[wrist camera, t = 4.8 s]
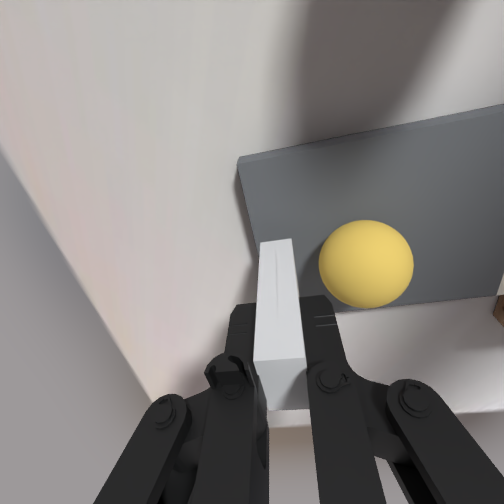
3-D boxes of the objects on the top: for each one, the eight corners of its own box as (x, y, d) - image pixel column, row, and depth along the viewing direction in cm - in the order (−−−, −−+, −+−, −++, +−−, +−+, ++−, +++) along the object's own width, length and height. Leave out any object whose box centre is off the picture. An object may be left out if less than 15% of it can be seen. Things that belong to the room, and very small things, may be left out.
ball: (310, 212, 14) (322, 259, 11) (396, 199, 13) (438, 243, 10) (316, 276, 16) (329, 331, 13) (391, 266, 15) (425, 322, 12)
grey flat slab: (239, 156, 14) (236, 164, 13) (571, 90, 12) (599, 92, 11) (273, 305, 19) (273, 318, 18) (505, 279, 17) (520, 293, 16)
